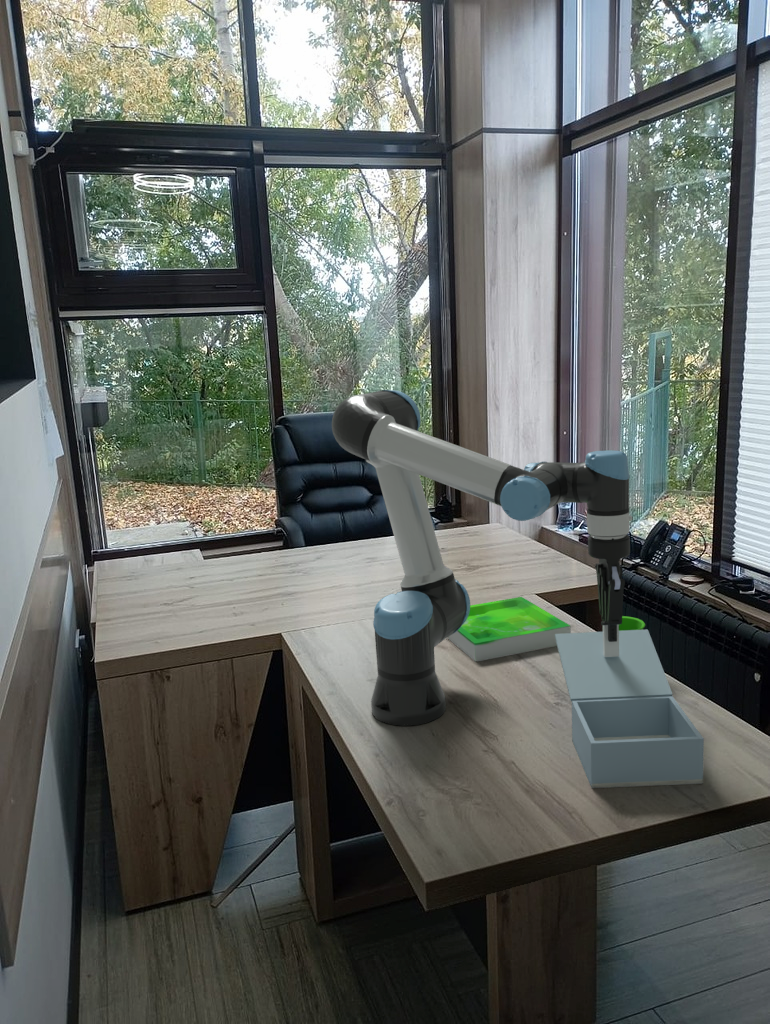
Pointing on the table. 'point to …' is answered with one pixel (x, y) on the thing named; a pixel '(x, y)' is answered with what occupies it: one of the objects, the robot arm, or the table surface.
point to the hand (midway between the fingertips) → (611, 655)
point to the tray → (507, 629)
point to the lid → (611, 666)
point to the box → (636, 742)
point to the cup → (631, 624)
